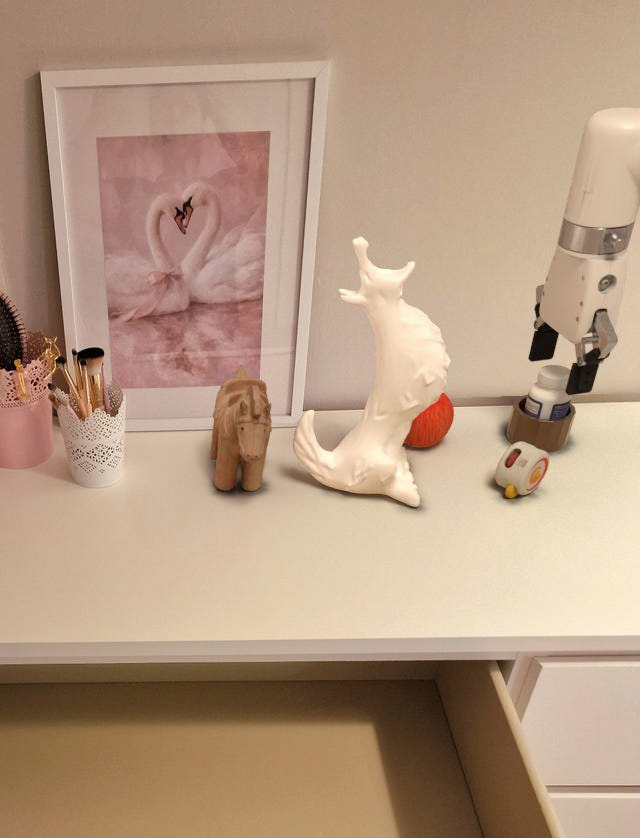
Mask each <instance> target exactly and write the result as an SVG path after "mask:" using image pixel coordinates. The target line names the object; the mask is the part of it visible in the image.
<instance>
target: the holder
mask: <svg viewBox="0 0 640 838" xmlns="http://www.w3.org/2000/svg"><path fill="white" fill-rule="evenodd" d="M527 396H528V394H524V395H522V396H519V397H517V398H516V400H514V402H513V404H512V408H511V412H510V415H509V419H508V424H507V427H506V434H505V435H506V438H507V440H508V441H509V442H510V444H511V445H513V444H514V443H516V442H520V441H522V442H526V443H528V444H531V445H533V446H535V447H536V448H537V449H540V450H544V451H546V452H547V453H552V452H556V451H558V450H561V449H563V448H564V447H565V446H566V444H567V441H568V440H569V436H570V433H571V430H572V426H573V423H574V420H575V417H576V415H577V411H576V407H575V405H573V404H572V403H571V402H570V405H569V408H568V412H567V415H566V417H564V418H561V419H553V420H549V419H540V418H536V417H532V416H530V415H528V414H526V413H524V408H525V404H526V400H527Z"/></svg>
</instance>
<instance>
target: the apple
mask: <svg viewBox="0 0 640 838" xmlns="http://www.w3.org/2000/svg"><path fill="white" fill-rule="evenodd" d="M454 408H455V407H454V406H453V403H452V401H451V399H450V398H449V397H448V395H447V394H446V393H445V392H444V391H443V392H442V394H441V395H440V397H439V399H438V401H437V402H435V403H434V404H432V405H430V406H429V407H428V408H426V409H425V410H424V411H423V412H421V413H420V414H419V415H418V416H417V417H416V418H415V419H414V420H413V421H412V424H411V428H410V431H409V433H408V435H407V436H406V438H405V440H404V442H403V443H404V444H407V445H408V446H411V447H413V448H428V447H433V446H435V445H436V444H438V443H440V442H441V441H442V440H443V439H444V438H445V437H446V435H447V434H448V433H449V431H450V429H451V427H452V425H453V422H454V418H455V409H454Z"/></svg>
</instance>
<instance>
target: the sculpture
mask: <svg viewBox="0 0 640 838" xmlns="http://www.w3.org/2000/svg"><path fill="white" fill-rule="evenodd" d="M352 246H353V249H354V252H355V255H356V257H357V262H358V265H359V272H358V273H359V277H360V282H361V284H360V287H359V288H358V289H357V290H349V289H345V288H339V289H338V292H339V294H341V295H340V300H342V301H344V302H346V303H349V304H351V305H354V306H358V307H359V308H361V309H362V310H363V312H364V313H365V315H366V317H367V319H368V321H369V323H370V327H371V328H372V331H373V334H374V343H375V344H374V351H375V355H374V373H373V380H372V383H371V386H370V390H369V392H368V393H369V394H368V396H367V400H366V403H365V407H364V408H363V411H362V413H361V416H360V418H359V420H358V421H357V422H356V424H355V426H354V427H353V428H352V430H350V431H349V432H348V433H347V434H346V435H345V436H344V438H343V439H342V440H341V442H340V443H339V444H338V445H337V446H336V447H335V448H334V449H333V450H331V451H329V450H326V449H324V448H322V447H321V445H320V444H319V442H318V441H317V437H316V434H315V430H314V429H315V428H314V418H315V410H314V409H309V410H306V411H305V412H303V414H302V415H301V416H300V418H299V419H298V422H297V424H296V425H295V429H294V433H293V440H292V450H293V453H294V455H295V457H296V459H297V460H298V461H299V462H300V464H301V465H302V466H303V467H304V468H305V469H306V470H307V472H308V473H309V474H310V475H311V476H312V477H313V478H314V479H315V480H316V481H317V482H319V483H321V484H323V485H324V486H327V487H328V488H332V489H336V490H339V491H345V492H349V493H352V494H362V495H363V494H364V495H372V494H373V495H376V494H378V495H385V496H388V497H391V498H392V499H394V500H396V501H399V502H401V503H404V504H406V505H408V506H409V507H414V508H417V507H419V506H420V503H421V497H420V495H419V488H418V486H417V485H416V484H415V483H414V482H415V478H414V475H413V473H412V472H411V471H410V463H409V461H408V454H407V452H406V449H405V448H406V447H405V446H403V444H404V443H405V442H404V440H405V438H406V436H407V435H408V433H409V431H410V428H411V424H412V421H413V420H414V419H415V418H416V417H417V416H418V415H419V414H420V413H421V412H423V411H424V410H425V409H426V408H428V407H429V406H430V405H432V404H434V403H435V402H437V401H438V399H439V397H440V395H441V394H442V392H443V393H444V392H445V390H446V388H447V385H448V383H447V382H448V381H447V379H448V373H449V370H450V365H451V363H452V361H451V359H450V356H449V355H448V353H447V351H446V349H447V345H446V343H445V340H443V338H442V337H443V334H442V331H441V329H440V327H438V326H437V324H435V323H434V322H432V320H431V318H429V315H427V314H426V313H425V312H423V311H422V310H421V309H419V308H417V307H415V306H413V305H410V304H408V303H406V302H405V300H404V299H403V298H401V297H402V295H403V290H404V284H405V283H406V281H407V280H408V278H409V276H410V275H411V274H412V272H413V271H414V270H415V268H416V261H413V260H412V261H408V262H407V264H405V265H404V267H402V268H400V269H391V268H380V267H377V266H376V265H374V264H373V263H372V261H370V260H369V257H368V253H367V249H368V248H369V246H370V244H369V242H368V240H366V239H365V238H364V237H363V236H359V237H356V238H353V239H352Z"/></svg>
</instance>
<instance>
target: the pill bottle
mask: <svg viewBox="0 0 640 838" xmlns="http://www.w3.org/2000/svg"><path fill="white" fill-rule="evenodd" d="M570 371H571V368H568V367H567V366H563V365H558V364H547V365H544V366H542V367H540V369H539V371H538V373H537V379H536V382H535V383H532V385H531V386H530V387H529V390H528V393H527V395H528V396H527V400H526V404H525V408H524V413H526V414H528V415H530V416H532V417H536V418H540V419H549V420H553V419H561V418H564V417H566V415H567V412H568V408H569V405H570V403H571V402H572V398H573V395H568V394H566V393H565V390H566V386H567V382H568V379H569V375H570Z"/></svg>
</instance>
